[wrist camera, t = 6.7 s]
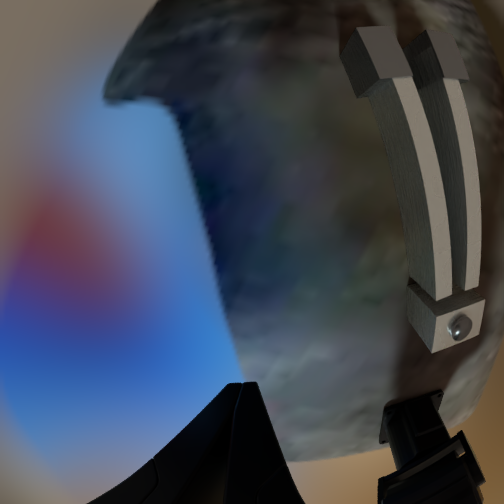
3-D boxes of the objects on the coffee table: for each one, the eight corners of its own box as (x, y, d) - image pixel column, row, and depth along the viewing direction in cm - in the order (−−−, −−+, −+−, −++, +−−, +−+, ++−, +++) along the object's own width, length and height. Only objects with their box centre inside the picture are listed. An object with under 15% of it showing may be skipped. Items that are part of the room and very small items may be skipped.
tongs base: (453, 303, 17) (485, 336, 12) (406, 318, 18) (434, 357, 13) (422, 54, 12) (458, 30, 7) (367, 52, 13) (393, 20, 8)
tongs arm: (423, 270, 17) (453, 295, 13) (399, 279, 17) (426, 307, 13) (367, 52, 13) (389, 25, 9) (339, 56, 13) (356, 27, 9)
